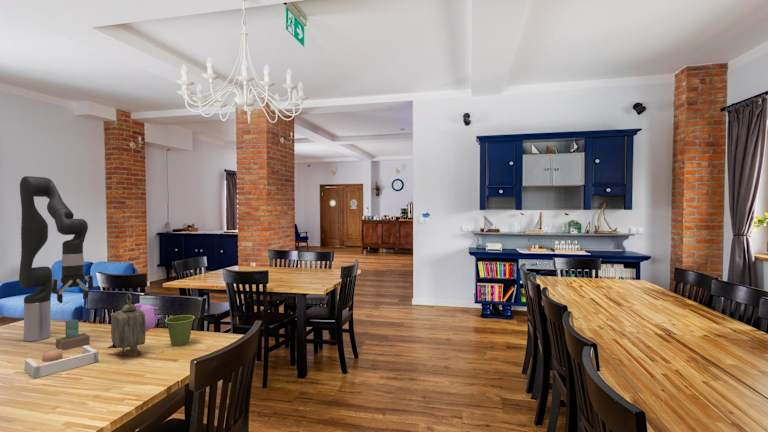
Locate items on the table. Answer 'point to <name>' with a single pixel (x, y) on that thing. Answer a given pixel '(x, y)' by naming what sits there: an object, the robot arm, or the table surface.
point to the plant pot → (180, 329)
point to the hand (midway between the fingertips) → (72, 300)
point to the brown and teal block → (72, 337)
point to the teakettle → (148, 315)
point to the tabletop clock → (128, 327)
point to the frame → (62, 363)
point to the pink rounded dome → (52, 355)
